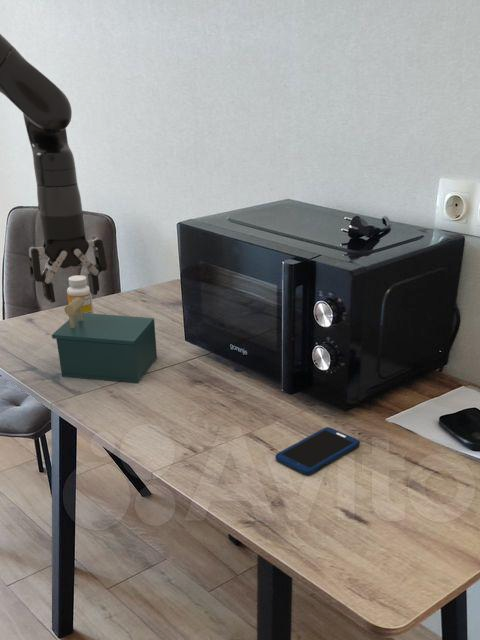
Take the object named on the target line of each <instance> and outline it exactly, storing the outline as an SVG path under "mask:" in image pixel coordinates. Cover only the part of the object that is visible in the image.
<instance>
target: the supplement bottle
mask: <svg viewBox="0 0 480 640" xmlns="http://www.w3.org/2000/svg"><path fill="white" fill-rule="evenodd" d="M87 280H88V279H87V276H86V275H78V274H77V275H71V276H69V277H68V285H69V286H68V287H67V289H66V295H67V302H68V304H69V303H70V302H72V301H73V300H74V299H75V298H77V297H80V298H82V299H83V301H84V305H83V306H82V307H81V309H82V313H90V314H95V312H94V304H93V294H91V293H90V290H89V285H87V283H88V281H87ZM76 313H77V312H76ZM76 313H74V314H73V316H74V315H75V314H76Z"/></svg>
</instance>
